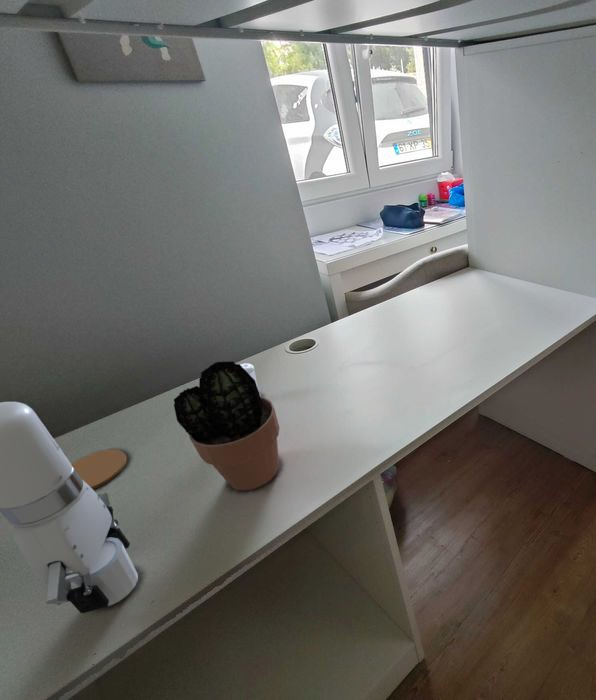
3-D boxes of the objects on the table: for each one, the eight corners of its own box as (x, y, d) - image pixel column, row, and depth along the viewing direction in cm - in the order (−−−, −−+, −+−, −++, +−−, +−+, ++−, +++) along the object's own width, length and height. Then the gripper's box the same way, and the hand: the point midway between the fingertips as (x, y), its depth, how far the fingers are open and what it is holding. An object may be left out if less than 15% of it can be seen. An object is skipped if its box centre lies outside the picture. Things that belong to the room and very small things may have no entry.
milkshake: (237, 406, 102) (222, 370, 96) (250, 392, 106) (237, 357, 101) (255, 407, 101) (241, 371, 96) (267, 393, 105) (255, 358, 100)
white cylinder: (137, 557, 69) (116, 528, 66) (148, 586, 65) (127, 557, 61) (83, 588, 65) (58, 559, 62) (91, 622, 61) (65, 592, 57)
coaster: (46, 501, 80) (44, 499, 79) (71, 460, 89) (69, 457, 88) (116, 484, 83) (115, 482, 82) (133, 445, 92) (132, 443, 91)
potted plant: (261, 439, 92) (221, 333, 79) (307, 461, 85) (272, 350, 73) (199, 484, 82) (141, 371, 69) (246, 513, 75) (193, 395, 63)
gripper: (39, 455, 61) (99, 535, 70) (-38, 565, 47) (49, 648, 56) (102, 441, 63) (152, 521, 72) (47, 542, 49) (118, 627, 57)
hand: (107, 576), depth 64 cm, fingers open, 8 cm apart
